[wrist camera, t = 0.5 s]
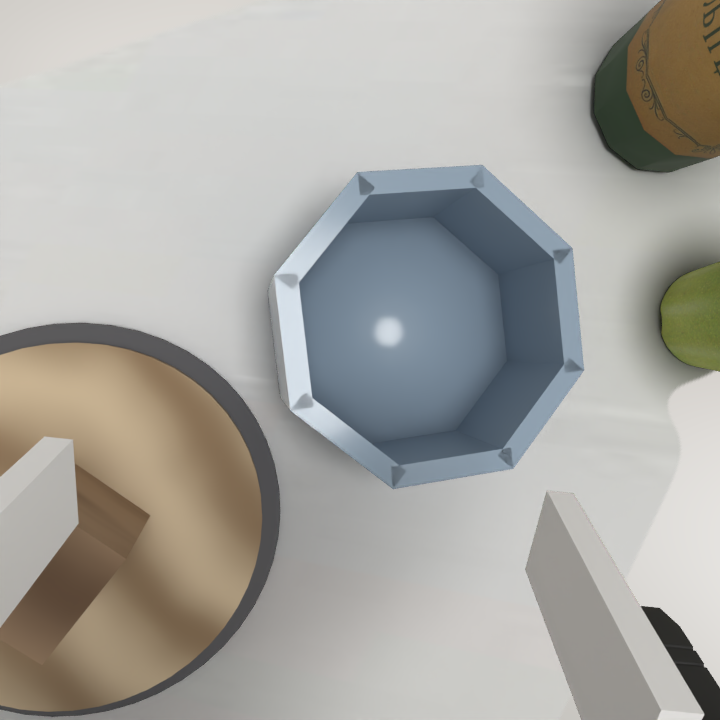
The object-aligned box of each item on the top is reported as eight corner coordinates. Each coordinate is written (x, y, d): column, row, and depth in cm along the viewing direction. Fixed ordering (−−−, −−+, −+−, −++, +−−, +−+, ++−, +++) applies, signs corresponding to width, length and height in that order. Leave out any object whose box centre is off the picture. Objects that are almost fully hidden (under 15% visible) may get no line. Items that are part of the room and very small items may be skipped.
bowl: (416, 500, 33) (461, 541, 26) (219, 350, 31) (212, 351, 24) (555, 312, 35) (632, 303, 28) (377, 154, 32) (414, 102, 25)
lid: (114, 761, 30) (74, 891, 23) (-212, 568, 27) (-377, 648, 20) (328, 480, 32) (352, 518, 25) (46, 269, 29) (-19, 244, 21)
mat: (120, 781, 30) (118, 788, 30) (-239, 569, 27) (-248, 573, 26) (352, 474, 32) (353, 476, 32) (46, 242, 29) (42, 240, 28)
